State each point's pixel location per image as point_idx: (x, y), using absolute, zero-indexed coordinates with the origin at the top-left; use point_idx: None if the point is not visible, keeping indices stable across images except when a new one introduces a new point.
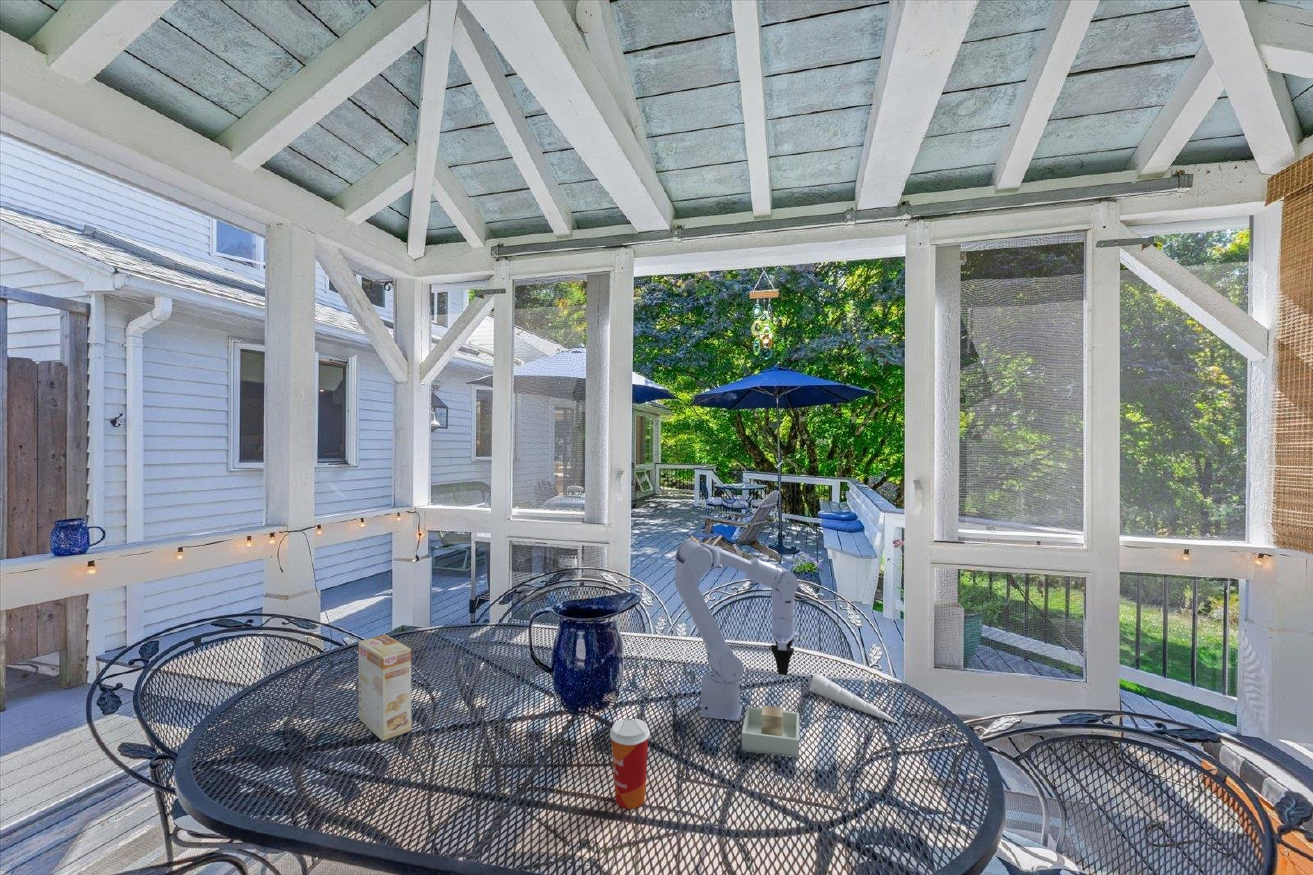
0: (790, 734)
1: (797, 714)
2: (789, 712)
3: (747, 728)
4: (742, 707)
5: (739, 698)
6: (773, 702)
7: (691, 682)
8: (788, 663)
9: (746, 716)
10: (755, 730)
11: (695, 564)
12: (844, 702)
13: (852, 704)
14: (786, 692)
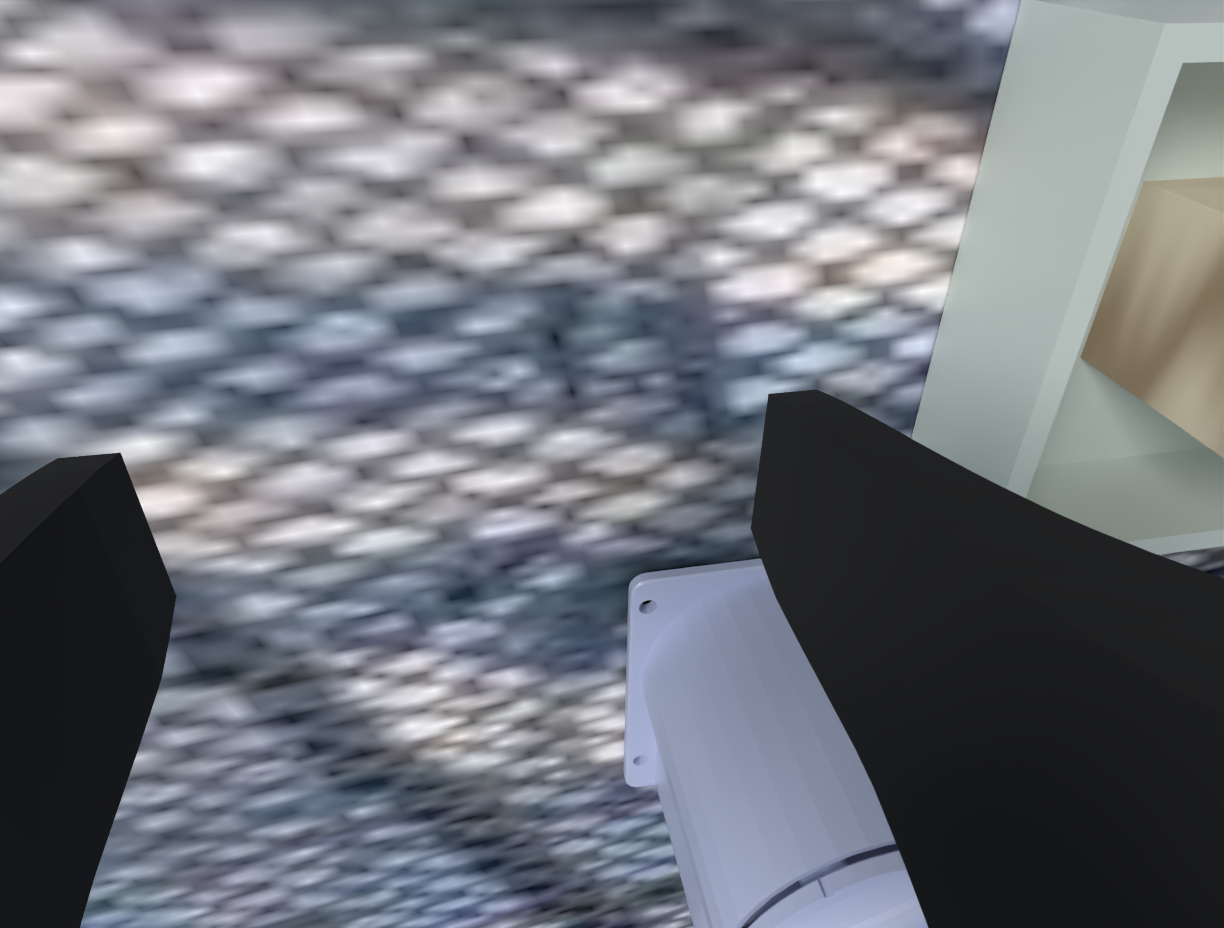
0: (1169, 101)
1: (1200, 49)
2: (1138, 163)
3: (1119, 481)
4: (657, 571)
5: (794, 661)
6: (439, 340)
7: (330, 921)
8: (1049, 518)
9: (1147, 547)
10: (1063, 414)
11: None
12: None
13: None
14: (69, 219)
